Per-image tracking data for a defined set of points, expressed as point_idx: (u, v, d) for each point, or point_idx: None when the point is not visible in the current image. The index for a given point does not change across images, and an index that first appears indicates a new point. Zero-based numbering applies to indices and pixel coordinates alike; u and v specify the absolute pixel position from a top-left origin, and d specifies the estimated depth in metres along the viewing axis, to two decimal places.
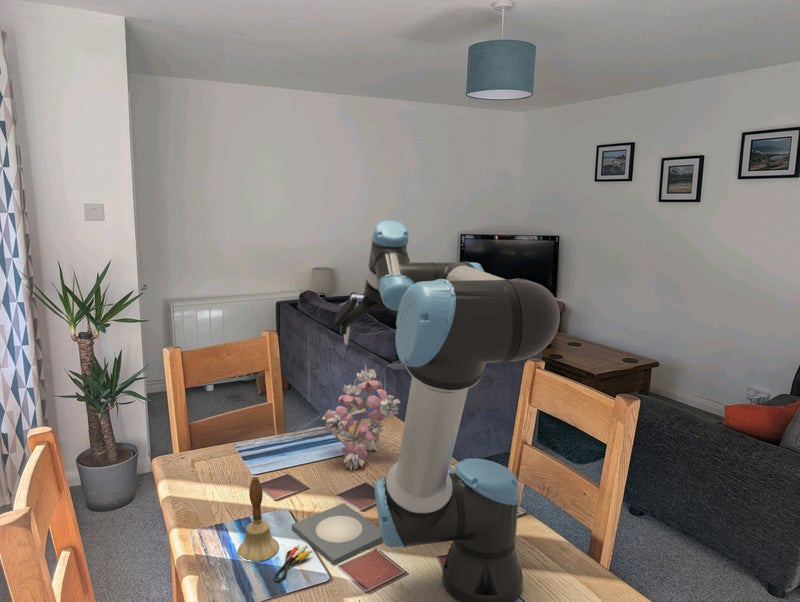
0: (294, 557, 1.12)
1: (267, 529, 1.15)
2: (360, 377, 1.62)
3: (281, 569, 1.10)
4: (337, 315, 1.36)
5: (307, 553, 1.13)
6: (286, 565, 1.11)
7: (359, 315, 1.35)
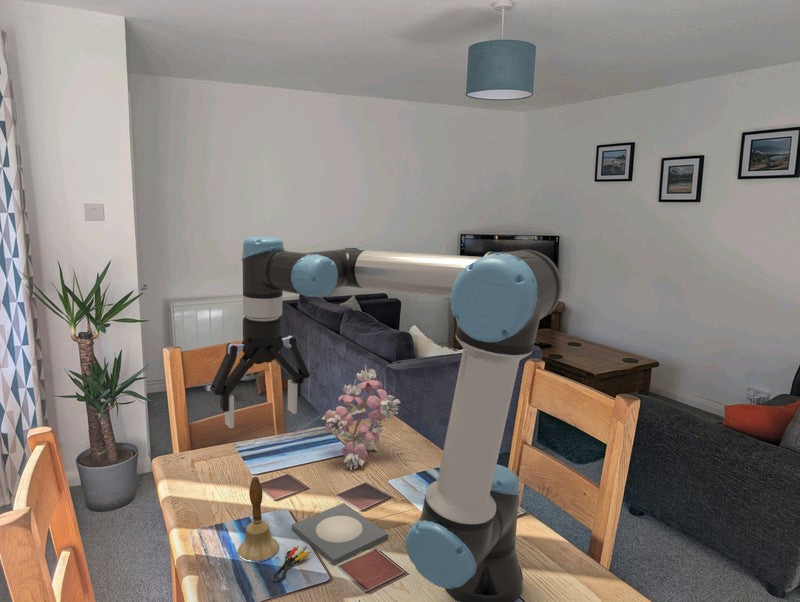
0: (293, 557, 1.12)
1: (267, 529, 1.15)
2: (360, 377, 1.62)
3: (280, 569, 1.10)
4: (214, 382, 1.08)
5: (306, 553, 1.13)
6: (285, 565, 1.11)
7: (243, 372, 1.09)
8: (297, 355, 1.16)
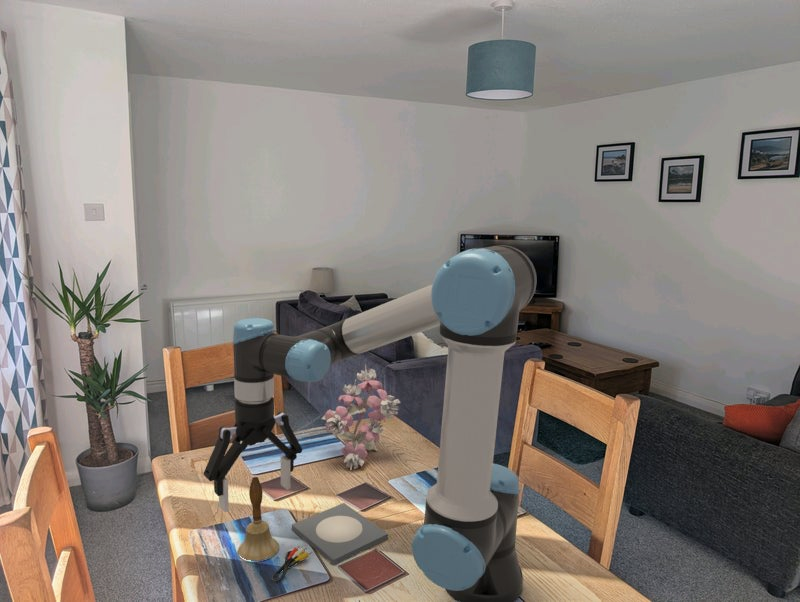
0: (293, 558, 1.12)
1: (267, 529, 1.15)
2: (360, 377, 1.62)
3: (280, 569, 1.10)
4: (208, 467, 1.07)
5: (306, 554, 1.13)
6: (285, 566, 1.10)
7: (236, 455, 1.09)
8: (290, 431, 1.16)
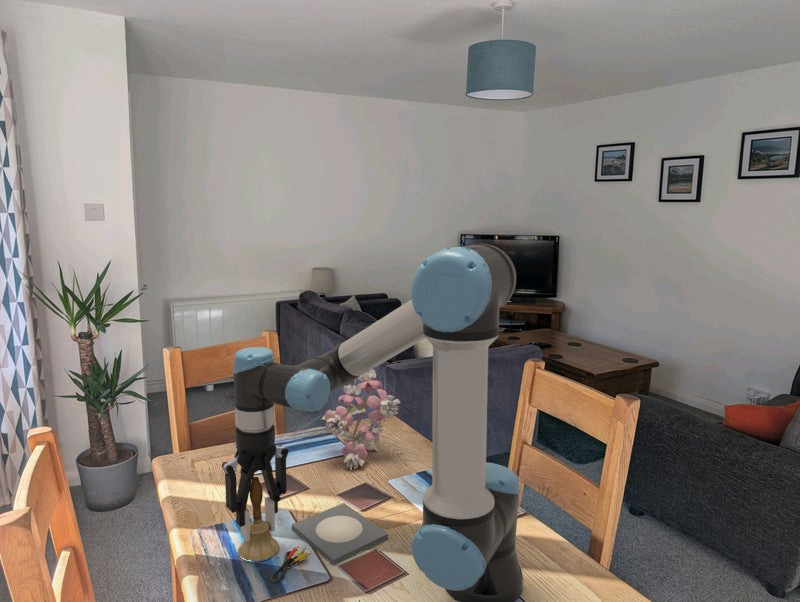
0: (293, 558, 1.12)
1: (267, 529, 1.15)
2: (360, 377, 1.62)
3: (279, 570, 1.10)
4: (227, 501, 1.11)
5: (306, 554, 1.13)
6: (284, 566, 1.10)
7: (248, 485, 1.11)
8: (283, 467, 1.16)
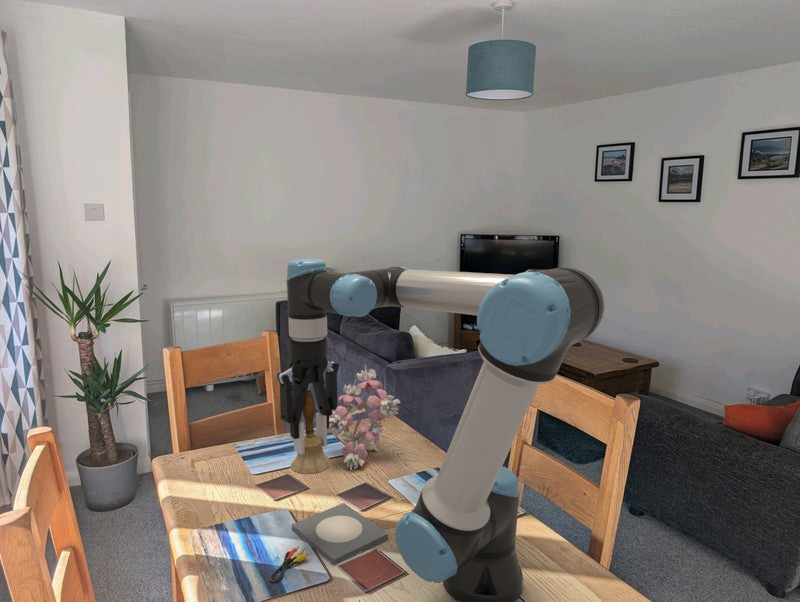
0: (292, 558, 1.12)
1: (320, 443, 1.15)
2: (360, 377, 1.62)
3: (278, 570, 1.10)
4: (282, 412, 1.11)
5: (305, 555, 1.13)
6: (283, 566, 1.10)
7: (302, 396, 1.12)
8: (334, 382, 1.17)
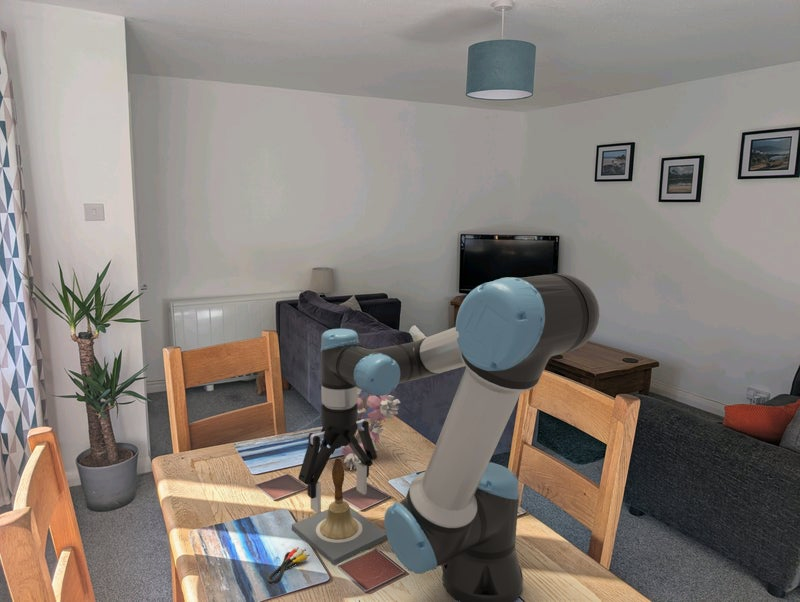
0: (291, 559, 1.12)
1: (348, 508, 1.21)
2: None
3: (277, 570, 1.10)
4: (302, 472, 1.14)
5: (305, 556, 1.12)
6: (282, 566, 1.10)
7: (326, 459, 1.16)
8: (368, 437, 1.23)
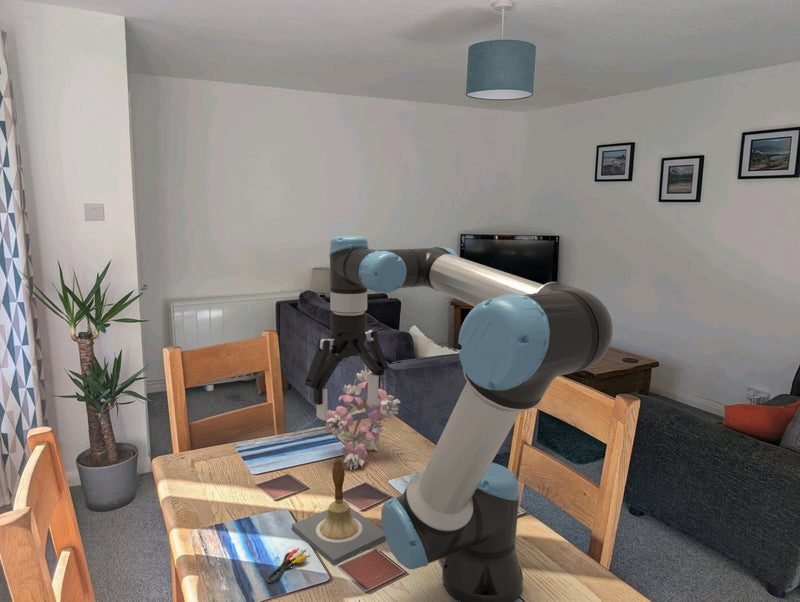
0: (291, 560, 1.12)
1: (348, 508, 1.21)
2: (360, 377, 1.62)
3: (276, 571, 1.09)
4: (309, 377, 1.12)
5: (304, 557, 1.12)
6: (282, 567, 1.10)
7: (334, 366, 1.14)
8: (378, 348, 1.21)
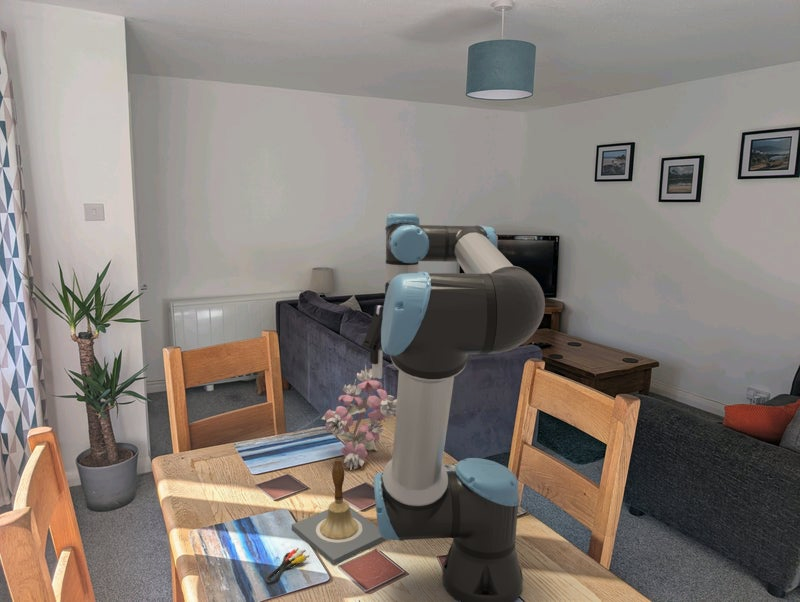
0: (290, 560, 1.12)
1: (348, 508, 1.21)
2: (360, 377, 1.62)
3: (275, 571, 1.09)
4: (366, 339, 1.25)
5: (304, 557, 1.12)
6: (281, 567, 1.10)
7: None
8: None
